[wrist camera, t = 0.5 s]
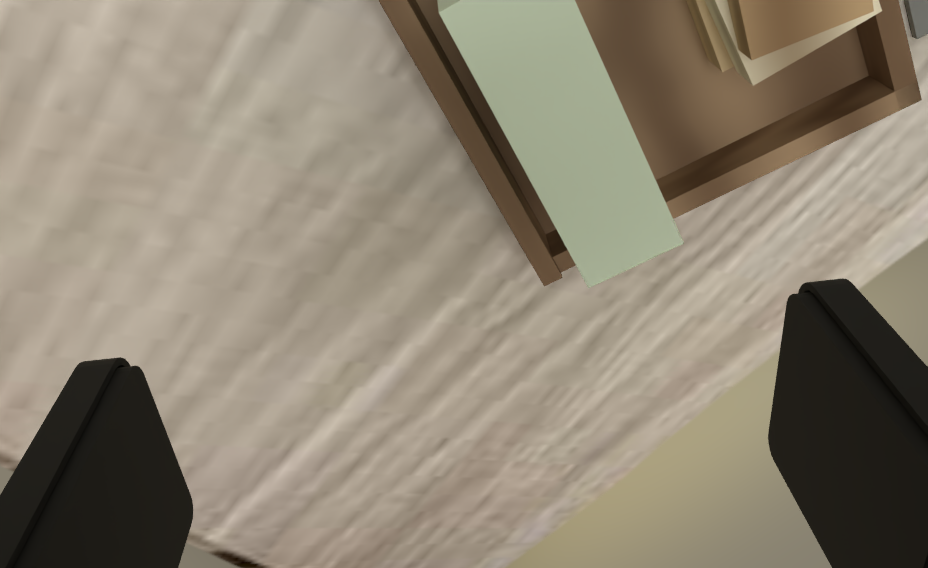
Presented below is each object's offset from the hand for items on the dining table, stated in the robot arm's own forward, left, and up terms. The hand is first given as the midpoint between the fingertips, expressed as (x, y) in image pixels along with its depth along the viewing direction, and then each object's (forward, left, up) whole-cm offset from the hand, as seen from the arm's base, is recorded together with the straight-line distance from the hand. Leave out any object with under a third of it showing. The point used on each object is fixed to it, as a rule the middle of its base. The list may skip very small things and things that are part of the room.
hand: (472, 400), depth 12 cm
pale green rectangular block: (-3, +5, -27) cm, 28 cm away
